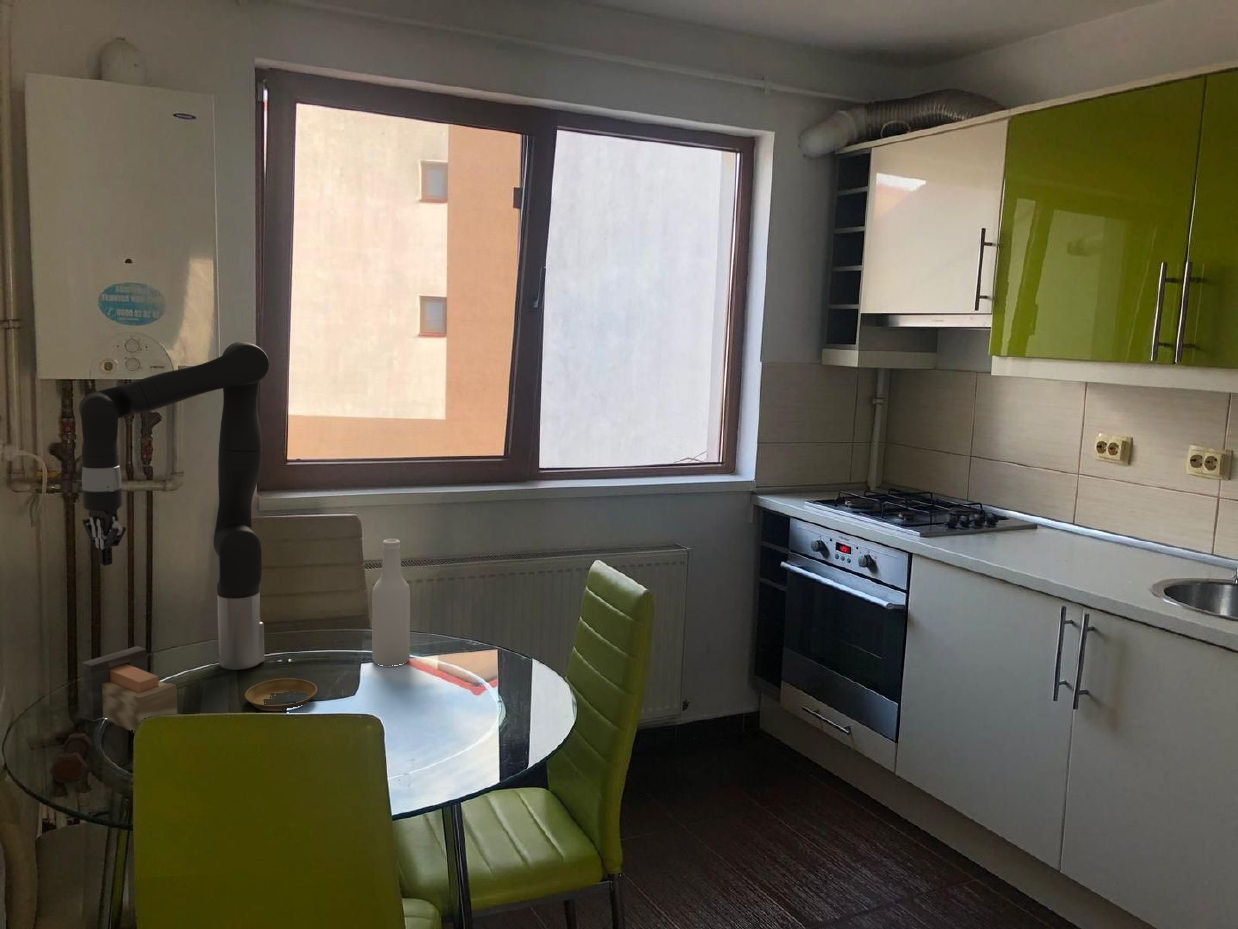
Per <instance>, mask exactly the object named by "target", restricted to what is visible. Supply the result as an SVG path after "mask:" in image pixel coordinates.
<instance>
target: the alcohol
mask: <svg viewBox="0 0 1238 929" xmlns="http://www.w3.org/2000/svg"><path fill="white" fill-rule="evenodd" d="M400 543H401V541H400V540H399V539H397V538H386V539H384V540H383V541H382V544H383V545H382V549H383V551H382V562H381V574H380V578H379V579H378V580H377V581H376V582H375V584H374V586H373V589H372V592H371V593H372V594H371V595H372V596H371V597H372V598H371V599H372V604H371V605H372V607H371V608H372V609H371V610H372V611H371V612H372V614H371V615H372V616H371V617H372V618H371V620H372V621H371V622H372V625H371V626H372V633H371V635H372V637H371V640H372V643H371V646H372V650H371V652H372V655H371V656H372V657H371V658H372V661H373V663H374V664H375V663H376V664H379V665H383V666H392V665H393V666H394V665H399V664H403V663H405V662H407V663H408V661H409V660H410V656H411V654H410V653H411V647H410V646H411V640H410V639H411V635H410V634H411V590H410V586H409V583H407V581H406V580H405V578H404V576H403V575H402V564H401V563H402V562H401V561H402V560H401V551H400V550H401V545H400ZM376 664H375V665H376ZM405 664H406V663H405Z"/></svg>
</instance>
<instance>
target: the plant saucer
mask: <svg viewBox="0 0 1238 929" xmlns="http://www.w3.org/2000/svg"><path fill="white" fill-rule="evenodd" d="M289 690H290V691H291V690H292V691H298V692H301V693H303V692H304V693H307V694H308V695H310V696H309V698H307V699H305V700H302V701H299V702H296V703H291V704H285V705H264V701H263V700H264V699H270V696H271V695H270V693H275V694H276V693H284V692H289ZM317 691H318V687H317V685H316V684H315V683H313V682H311V681H308V680H305V679H302V678H300V679H299V678H277V679H271V680H266V681H263V682H259V683H257V684H255V685H252V686H251V687H249V688H248V689H247V690H246V691H245V693H244V697H245V699H246V700H247V701H248V702H249V703H250V704H251V705H252V706H253V707H255V708H256V709H258V710H260V709H287V708H293V707H298V706H301V705H304V704H305V705H307V704H308V703H309V702H310V701H311V700H312V699H313V698H314V696H315V695H316V694H317ZM294 693H295V692H294ZM274 696H276V695H274ZM271 697H272V696H271ZM271 699H272V698H271ZM273 699H274V698H273ZM265 704H266V703H265ZM305 705H304V706H305ZM282 712H286V711H282ZM282 712H281V713H282Z"/></svg>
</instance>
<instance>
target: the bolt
mask: <svg viewBox="0 0 1238 929" xmlns="http://www.w3.org/2000/svg"><path fill="white" fill-rule="evenodd" d="M92 746H93V741H92V740H91V734H90V733H89V732H88V731H86V730H78V729H77V730H75V731H74V732H73V733H72V734H69V735H68V738H67V739H66V741H65V743H63V746H62V748H61V749H62V751H63V753H60V754H58V755H57V757H56V759H55V761H54V762H53V765H52V766H51V768H50V769H49V773H50V774H51V776H52V778H54V780H55V781H56V782H57V783H58V784H65V783H66V784H67V783H74V782H79V781H80V780H81V777H82V776H83V774H84V772H85V770H86V769H87V766H88V764H87V762H86V761H85V759H83V758H86V757H87V755H88V754H89V751H90V750H91V748H92Z"/></svg>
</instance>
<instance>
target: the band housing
mask: <svg viewBox="0 0 1238 929" xmlns="http://www.w3.org/2000/svg"><path fill="white" fill-rule="evenodd" d="M147 658H148V654H147V648H144V647H141V646H139V645H136V646H133V647H130V648H126V649H124V650H120V651H117V652H113V653H110V654H107V655H106V654H105V655H103V656H100V657H95V658H93V659H89V660H86V661H83V662H82V663H81V665H82V667H81V668H82V681H83V682H82V683H83V701H84V718H85V717H87V718H89V719H91V720H96V719H98V718H102V717H104V718H108V719H109V720H111V721H112V722H114V723H116V724H119V725H120V726H122V727H124V728H125V730H127V731H129V730H130V731H129V732H131V730H133V732H132V733H133V734H135V733H134V731H135V727H136V725H137V724H139V723H140V722H141V720H143V719H144V718H148V717H151V716H156V715H164V714H177V715H178V698H177V697H178V693H177V691H178V690H177V685H176V684H174V683H171V682H169V683H166V682H163V681H159V680H158V685H159V687H157V688H154V689H151V690H148V691H145V692H142V693H139V694H138V693H136V692H133V691H131V690H128V689H126V688H124V687H121V686H119V685H117V684H114V683H112V682H109V668H111V667H114V666H117V665H120V664H124V663H126V664H128V665H131V666H133V667H136V668H138V669H141V670H143V671H146V672H148V659H147ZM116 724H115V725H116ZM120 726H119V727H120ZM122 727H121V728H122ZM124 728H123V729H124Z"/></svg>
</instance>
